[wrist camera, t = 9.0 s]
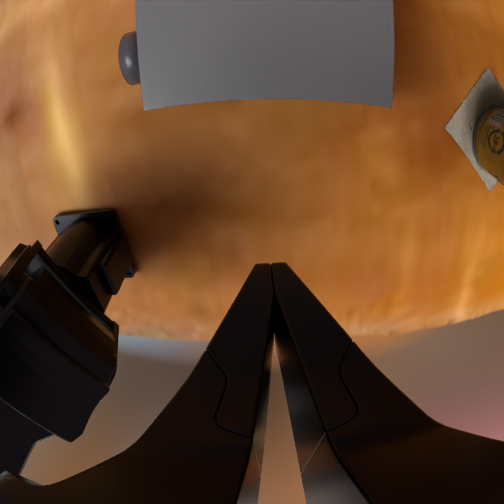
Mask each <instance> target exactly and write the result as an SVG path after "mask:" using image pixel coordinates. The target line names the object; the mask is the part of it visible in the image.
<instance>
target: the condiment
mask: <svg viewBox="0 0 504 504" xmlns="http://www.w3.org/2000/svg"><path fill="white" fill-rule="evenodd" d="M497 103H498V104H497ZM471 123H472V127H470V124H471ZM445 129H446V130H447V131H448V132H449V133H450V135H451V136H452V137H453V139H454V140H455V141H456V142H457V144H458V145H459V146H460V148H461V149H462V151H463V152H464V153H465V155H466V156H467V157H468V159H469V160H470V162H471V164H472V165H473V167H474V168H475V169H476V171H477V172H478V174H479V175H480V177H481V179H482V180H483V182H484V183H485V185H486V187H487V188H488V190H489V191H491V190H492V188H493V187H494V186H495V184H496V183H497V181H499V182H500V183H502V184H503V185H504V91H503V90H502V88H501V87H500V85H499V83H498V81H497V79H496V77H495V76H494V74H493V73H492V71H491V70H490V68H489V67H488V68H487V70H486V71H485V73H484V74H482V76H481V78H480V79H479V80H478V82H477V83H476V85H475V86H474V87H473V88H472V90H471V91H470V93H469V94H468V96H467V97H466V99H464V100H463V103H462V104H461V106H460V107H459V109H458V110H457V111H456V113H455V114H454V115H453V117H452V119H451V120H450V121H449V123H448V124H447V125H446V127H445ZM471 129H472V132H471Z"/></svg>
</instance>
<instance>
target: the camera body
mask: <svg viewBox="0 0 504 504" xmlns="http://www.w3.org/2000/svg"><path fill="white" fill-rule="evenodd" d="M135 11H136V31H134V32H130V33H126V34H125V35H124V36H123V37H122V39H121V41H120V45H119V64H120V69H121V72H122V75H123V77H124V79H125V80H126V82H127V83H128V84H130V85H137V84H141V91H142V100H143V108H144V111H145V110H151V109H157V108H164V107H171V106H178V105H186V104H195V103H205V102H217V101H231V100H253V99H301V100H323V101H337V102H349V103H359V104H367V105H375V106H383V107H389V108H392V100H393V84H394V9H393V0H135Z"/></svg>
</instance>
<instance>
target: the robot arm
mask: <svg viewBox="0 0 504 504" xmlns="http://www.w3.org/2000/svg"><path fill="white" fill-rule="evenodd" d="M109 214H111V215H112V216H113V217H111V216H110V215H109ZM58 220H59V221H58ZM53 223H54V225H55V228H56V231H57V233H58V236H57V237H56V239H55V240H54V241H53V242H52V243H51V245H50V246H49V247H48V248H47V250H46V251H45V250H44V249H43V248H42V245H41V243H40V242H39V241H38V240H37V241H36V242H35V243H34V244H33V245H32V246H30V244H29V245H28V246H26V245H24V244H21V243H20V244H19V245H18V246H17V247H16V248H15V249H14V251H13V252H12V253H11V254H10V255H9V257H8V258H7V259H6V260H5V262H4V263H3V264H2V265H1V267H0V504H258V496H259V487H260V480H261V476H260V475H261V471H262V463H263V453H264V443H265V435H266V425H267V415H268V404H269V394H270V382H271V370H272V359H273V346H274V338H275V344H276V350H277V354H278V359H279V365H280V370H281V375H282V380H283V385H284V390H285V395H286V400H287V405H288V410H289V415H290V420H291V426H292V431H293V436H294V441H295V446H296V451H297V456H298V462H299V467H300V472H301V477H302V483H303V488H304V493H305V498H306V503H307V504H504V441H500V440H495V439H491V438H487V437H483V436H479V435H476V434H472V433H468V432H465V431H461V430H458V429H454V428H451V427H448V426H445V425H443V424H441V423H439V422H437V421H435V420H433V419H432V418H431V417H429V416H428V415H427V414H426V413H425V412H423V411H422V410H421V409H420V408H419V407H418V406H417V405H416V404H415V403H414V402H413V401H412V400H410V399H409V398H408V397H407V396H406V395H405V394H404V393H403V392H402V391H401V390H400V389H399V388H398V387H396V386H395V385H394V384H393V383H392V382H391V381H390V380H389V379H388V378H387V377H386V376H385V375H384V374H383V373H382V372H381V371H380V370H379V369H378V368H377V367H376V366H375V365H374V364H373V363H372V362H371V361H370V360H369V358H368V357H367V356H366V355H365V354H364V353H363V352H362V351H361V350H360V348H359V347H358V346H357V345H356V344H355V342H352V339H351V338H350V336H349V335H348V334H347V333H346V332H345V331H344V329H343V328H342V327H341V326H340V325H339V323H338V322H337V321H336V320H335V319H334V318H333V316H332V315H331V314H330V313H329V312H328V311H327V309H326V308H325V307H324V306H323V305H322V304H321V303H320V301H319V300H318V299H317V298H316V297H315V296H314V294H313V293H312V292H311V291H310V290H309V289H308V287H307V286H306V285H305V284H304V283H303V282H302V281H301V279H300V278H299V277H298V276H297V275H296V274H295V273H294V271H293V270H292V269H291V268H290V267H289V266H288V265H287V263H285V262H280V263H272V264H271V265H270V264H269V263H261V264H256V265H255V266H254V267H253V269H252V271H251V273H250V274H249V276H248V278H247V279H246V281H245V283H244V285H243V286H242V288H241V290H240V291H239V293H238V295H237V297H236V298H235V300H234V302H233V303H232V305H231V307H230V309H229V310H228V312H227V314H226V315H225V317H224V319H223V321H222V322H221V324H220V326H219V327H218V329H217V331H216V333H215V334H214V336H213V338H212V339H211V341H210V343H209V345H208V346H207V348H206V351H204V353H203V355H202V356H201V358H200V360H199V361H198V363H197V364H196V366H195V368H194V369H193V371H192V372H191V374H190V375H189V377H188V379H187V380H186V381H185V383H184V384H183V385H182V387H181V388H180V389H179V390H178V392H177V393H176V394H175V396H174V397H173V398H172V400H171V401H170V402H169V403H168V404H167V406H166V407H165V408H164V409H163V411H162V412H161V413H160V414H159V416H158V417H157V418H156V419H155V420H154V422H153V423H152V424H151V425H150V427H149V428H148V429H147V430H146V431H145V433H144V434H143V435H142V436H141V437H140V438H139V439H138V440H137V441H136V442H135V443H134V444H133V445H131V446H130V447H129V448H128V449H126V450H125V451H123V452H121V453H120V454H118V455H116V456H114V457H112V458H110V459H108V460H106V461H104V462H102V463H100V464H98V465H96V466H94V467H92V468H90V469H87V470H85V471H83V472H81V473H79V474H76V475H74V476H72V477H70V478H67V479H65V480H62V481H60V482H57V483H54V484H51V485H45V486H43V485H41V484H38V483H36V482H34V481H31V480H29V479H27V478H24V477H22V476H20V474H21V472H22V470H23V468H24V465H25V464H26V461H27V459H28V457H29V455H30V453H31V451H32V449H33V447H34V446H35V444H36V443H37V442H38V441H41V440H44V439H46V438H48V437H51V436H53V435H56V436H58V437H60V438H62V439H63V440H65V441H67V442H72V441H74V440H75V439H77V438H78V437H79V436H80V435H82V433H83V431H84V429H85V427H86V424H87V422H88V420H89V418H90V416H91V414H92V412H93V410H94V408H95V407H96V406H97V404H98V403H99V401H100V400H101V399H102V398H103V397H104V396H105V395H106V394H107V393H108V392H109V389H110V388H109V386H110V384H111V382H112V380H113V379H114V376H115V373H116V368H117V350H118V335H119V325H118V324H117V323H116V322H114V321H112V320H111V319H109V318H108V317H107V316H106V315H105V314H104V313H105V310H106V308H107V306H108V304H109V301H110V299H111V297H112V295H116V294H117V293H118V291H119V289H120V287H121V285H122V282H123V280H124V278H132V277H134V275H135V272H136V271H135V268H134V265H133V258H132V255H131V252H130V249H129V245H128V242H127V239H126V236H125V235H124V233H123V230H122V227H121V224H120V220H119V217H118V214H117V212H116V211H115V210H114V209H101V210H92V211H83V212H75V213H66V214H59V215H56V216H55V217H54V219H53ZM129 271H130V272H129Z"/></svg>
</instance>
